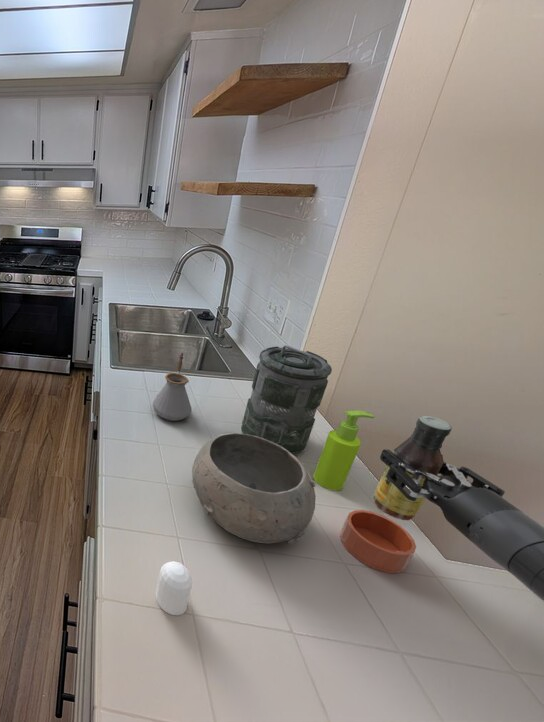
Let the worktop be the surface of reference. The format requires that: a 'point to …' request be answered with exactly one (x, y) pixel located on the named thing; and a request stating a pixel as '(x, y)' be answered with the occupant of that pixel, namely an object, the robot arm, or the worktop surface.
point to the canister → (286, 396)
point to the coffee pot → (173, 397)
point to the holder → (377, 541)
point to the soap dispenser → (339, 452)
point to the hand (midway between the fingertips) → (403, 454)
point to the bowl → (254, 488)
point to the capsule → (173, 588)
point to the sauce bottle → (419, 455)
